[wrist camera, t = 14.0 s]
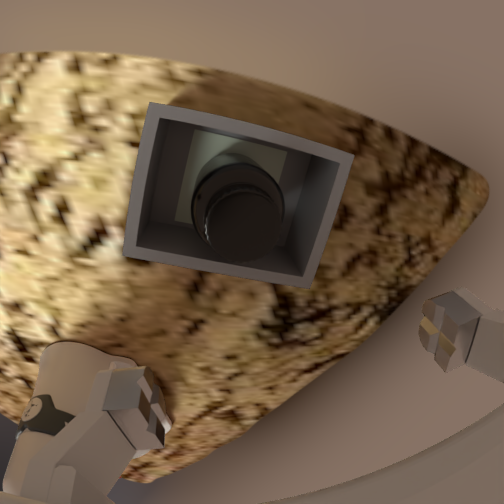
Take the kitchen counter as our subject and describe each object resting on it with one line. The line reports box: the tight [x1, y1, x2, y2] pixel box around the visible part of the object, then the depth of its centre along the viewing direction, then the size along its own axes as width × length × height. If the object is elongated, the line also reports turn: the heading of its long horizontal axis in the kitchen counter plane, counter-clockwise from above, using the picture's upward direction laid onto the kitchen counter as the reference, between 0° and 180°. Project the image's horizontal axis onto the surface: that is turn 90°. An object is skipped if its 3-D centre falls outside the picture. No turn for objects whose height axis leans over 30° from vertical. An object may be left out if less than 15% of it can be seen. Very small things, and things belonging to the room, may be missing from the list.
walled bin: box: [122, 102, 354, 289], centre depth 28 cm, size 16×12×8 cm
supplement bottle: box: [191, 153, 285, 263], centre depth 25 cm, size 7×7×12 cm
